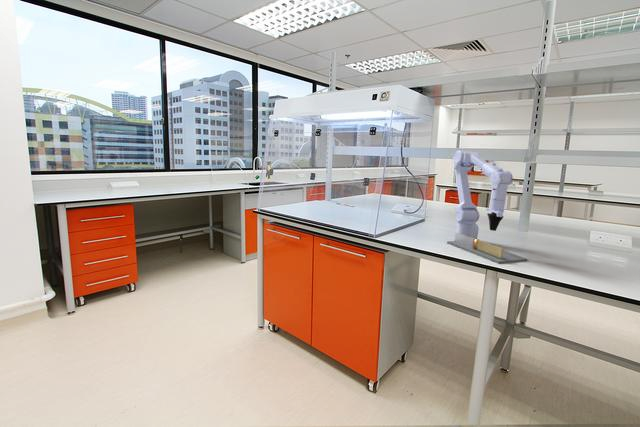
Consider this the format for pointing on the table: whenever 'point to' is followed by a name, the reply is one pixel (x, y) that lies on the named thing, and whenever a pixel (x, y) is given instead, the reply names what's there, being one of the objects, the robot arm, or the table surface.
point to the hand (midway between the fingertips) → (492, 230)
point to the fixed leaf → (464, 240)
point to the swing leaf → (488, 248)
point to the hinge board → (505, 258)
